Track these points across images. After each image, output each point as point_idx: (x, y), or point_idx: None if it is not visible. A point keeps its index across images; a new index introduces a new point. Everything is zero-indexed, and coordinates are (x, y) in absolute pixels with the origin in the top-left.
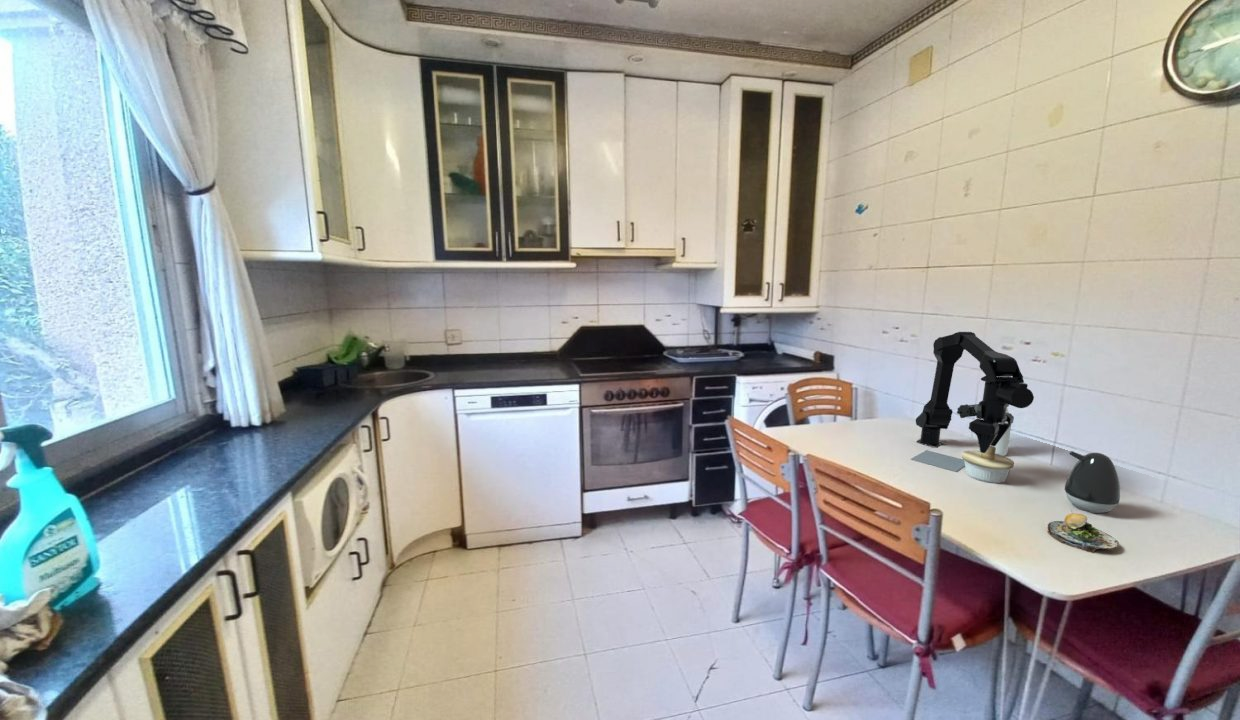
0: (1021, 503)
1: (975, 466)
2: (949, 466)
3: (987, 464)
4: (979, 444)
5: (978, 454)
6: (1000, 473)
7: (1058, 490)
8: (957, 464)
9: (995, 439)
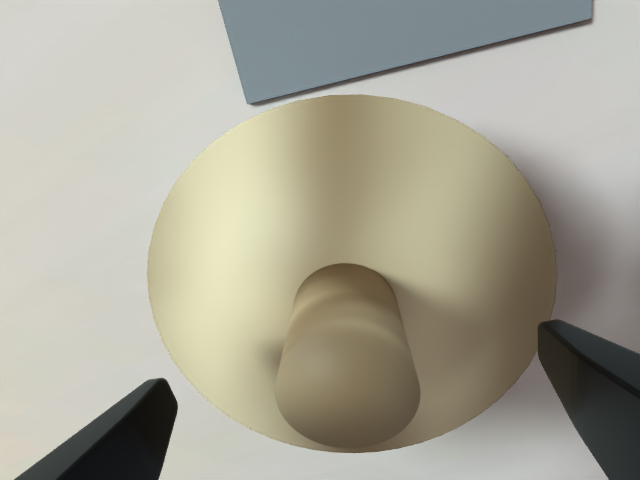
0: (180, 444)
1: None
2: (290, 12)
3: (186, 374)
4: (47, 461)
5: (367, 225)
6: None
7: (487, 460)
8: (401, 12)
9: (607, 437)
